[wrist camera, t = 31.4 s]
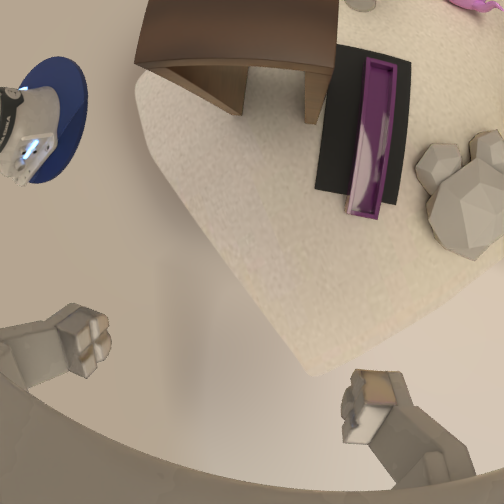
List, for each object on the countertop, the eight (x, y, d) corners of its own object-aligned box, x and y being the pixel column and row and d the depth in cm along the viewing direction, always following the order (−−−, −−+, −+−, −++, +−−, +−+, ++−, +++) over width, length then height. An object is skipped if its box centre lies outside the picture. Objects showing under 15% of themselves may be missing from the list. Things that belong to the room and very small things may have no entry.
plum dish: (373, 216, 39) (377, 219, 37) (343, 210, 40) (346, 213, 37) (392, 69, 32) (397, 64, 30) (363, 62, 33) (366, 56, 30)
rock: (392, 161, 37) (415, 162, 28) (485, 114, 31) (519, 108, 22) (435, 269, 40) (461, 294, 31) (519, 215, 34) (552, 229, 25)
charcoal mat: (394, 204, 39) (395, 205, 38) (314, 188, 40) (314, 189, 40) (410, 63, 32) (411, 62, 31) (331, 44, 33) (331, 43, 33)
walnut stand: (316, 124, 38) (334, 68, 13) (231, 115, 39) (133, 63, 15) (322, 72, 35) (340, -34, 11) (238, 64, 36) (157, -30, 12)
